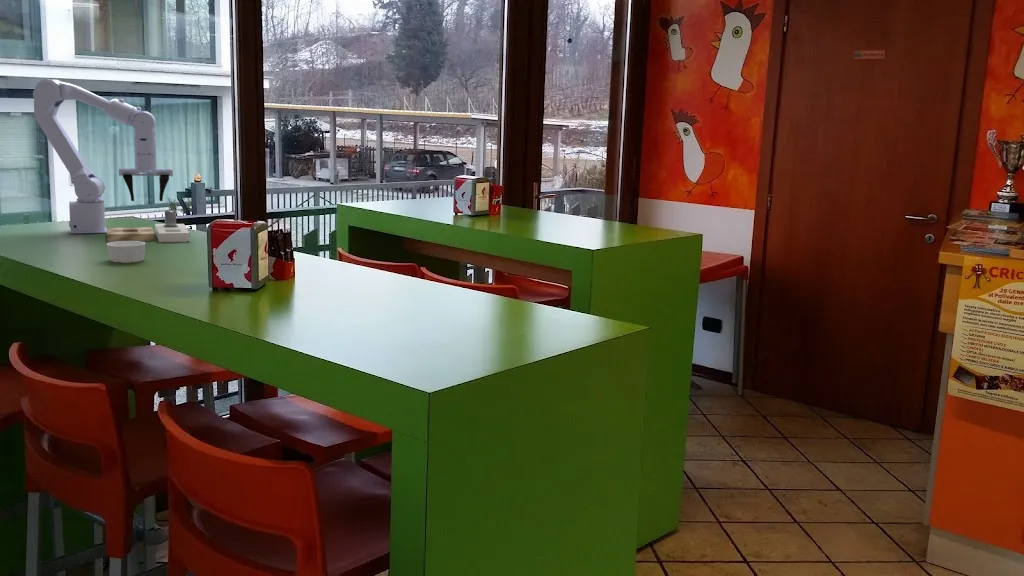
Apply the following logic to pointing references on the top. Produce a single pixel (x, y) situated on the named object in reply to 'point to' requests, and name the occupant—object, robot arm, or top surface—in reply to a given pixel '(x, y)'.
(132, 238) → the socket block
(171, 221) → the steel peg
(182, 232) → the tool rack
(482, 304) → the top surface
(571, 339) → the top surface
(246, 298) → the top surface
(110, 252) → the ramekin
